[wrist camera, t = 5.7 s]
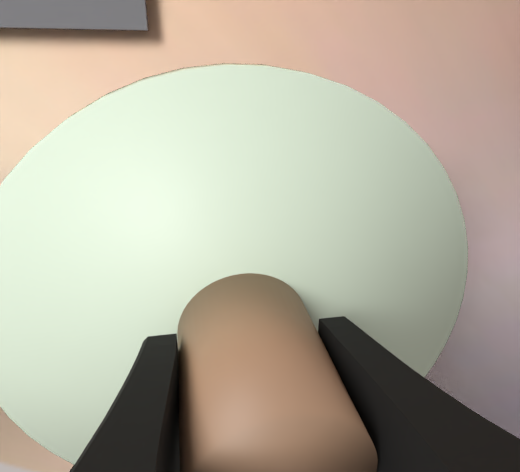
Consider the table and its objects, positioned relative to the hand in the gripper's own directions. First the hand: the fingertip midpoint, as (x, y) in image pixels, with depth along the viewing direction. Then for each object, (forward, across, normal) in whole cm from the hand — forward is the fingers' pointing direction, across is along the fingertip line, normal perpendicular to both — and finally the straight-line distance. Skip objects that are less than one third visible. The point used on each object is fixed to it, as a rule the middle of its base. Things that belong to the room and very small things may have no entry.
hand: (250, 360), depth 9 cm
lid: (+2, 0, 0) cm, 2 cm away
